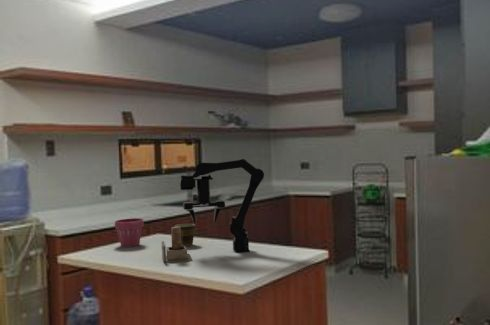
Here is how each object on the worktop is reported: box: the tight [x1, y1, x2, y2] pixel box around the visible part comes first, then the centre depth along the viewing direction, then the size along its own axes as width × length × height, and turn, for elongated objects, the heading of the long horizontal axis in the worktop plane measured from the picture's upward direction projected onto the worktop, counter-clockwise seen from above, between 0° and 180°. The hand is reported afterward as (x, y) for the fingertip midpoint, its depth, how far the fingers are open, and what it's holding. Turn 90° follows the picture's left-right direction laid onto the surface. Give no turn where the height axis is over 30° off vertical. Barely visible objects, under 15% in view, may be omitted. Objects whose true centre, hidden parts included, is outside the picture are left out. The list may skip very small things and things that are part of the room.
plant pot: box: [114, 217, 145, 248], centre depth 243 cm, size 14×14×13 cm
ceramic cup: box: [174, 223, 196, 247], centre depth 238 cm, size 13×10×10 cm
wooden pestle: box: [170, 226, 181, 250], centre depth 208 cm, size 4×4×13 cm
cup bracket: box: [161, 240, 193, 264], centre depth 208 cm, size 12×12×7 cm
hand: (204, 223), depth 221 cm, fingers open, 9 cm apart
